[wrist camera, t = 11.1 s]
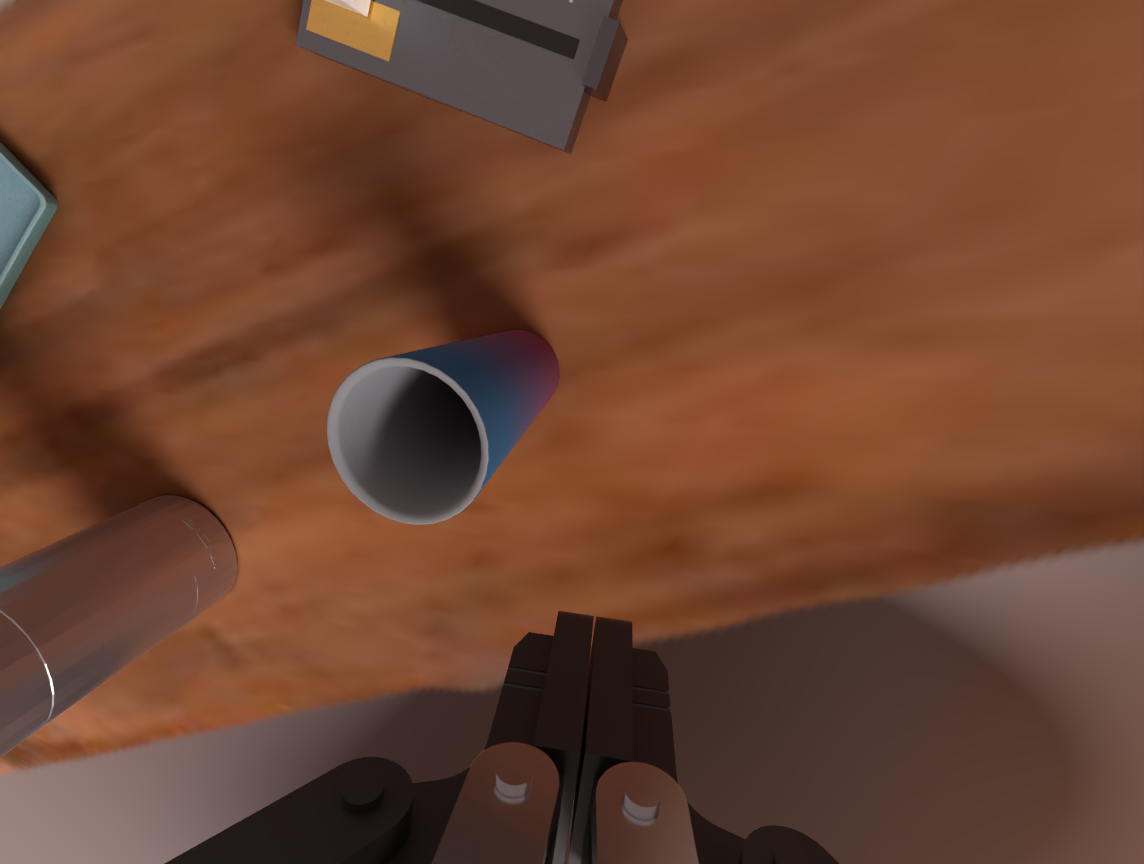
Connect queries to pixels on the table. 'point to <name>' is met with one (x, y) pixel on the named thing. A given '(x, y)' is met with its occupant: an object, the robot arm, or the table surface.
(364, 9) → the fader knob
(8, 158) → the rectangular tray
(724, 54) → the table surface
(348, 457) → the cup
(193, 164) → the table surface
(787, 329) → the table surface
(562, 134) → the console
